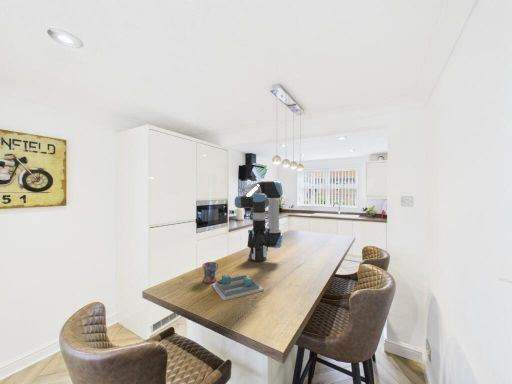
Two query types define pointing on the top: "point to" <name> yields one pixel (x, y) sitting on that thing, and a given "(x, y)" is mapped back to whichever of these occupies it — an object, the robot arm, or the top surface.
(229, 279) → the tab
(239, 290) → the switch board
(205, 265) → the mug
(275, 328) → the top surface
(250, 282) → the tab
